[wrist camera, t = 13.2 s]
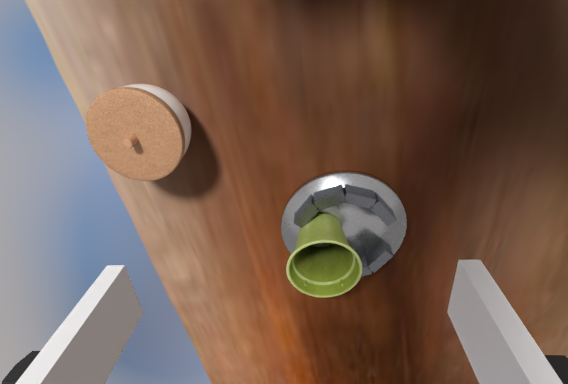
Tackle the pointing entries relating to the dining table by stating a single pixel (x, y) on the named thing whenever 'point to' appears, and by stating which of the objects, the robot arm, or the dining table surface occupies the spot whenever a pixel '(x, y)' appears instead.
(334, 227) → the plant pot
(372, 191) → the hub
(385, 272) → the dining table surface
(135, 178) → the lidded jar
